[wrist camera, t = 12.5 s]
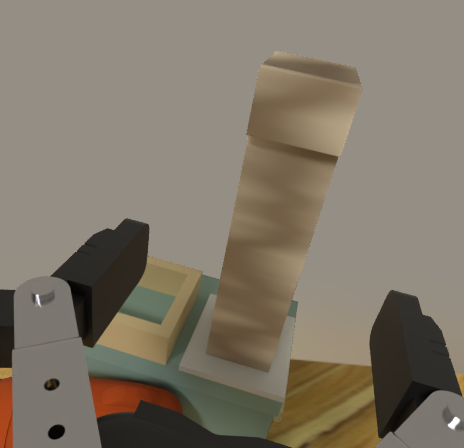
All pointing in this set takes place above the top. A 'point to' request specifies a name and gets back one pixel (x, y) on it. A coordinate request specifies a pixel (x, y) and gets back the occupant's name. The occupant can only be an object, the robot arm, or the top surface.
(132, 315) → the tool chest
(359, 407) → the top surface
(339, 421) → the top surface
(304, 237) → the wooden key
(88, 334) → the robot arm
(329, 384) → the top surface
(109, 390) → the toy drill
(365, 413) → the top surface
